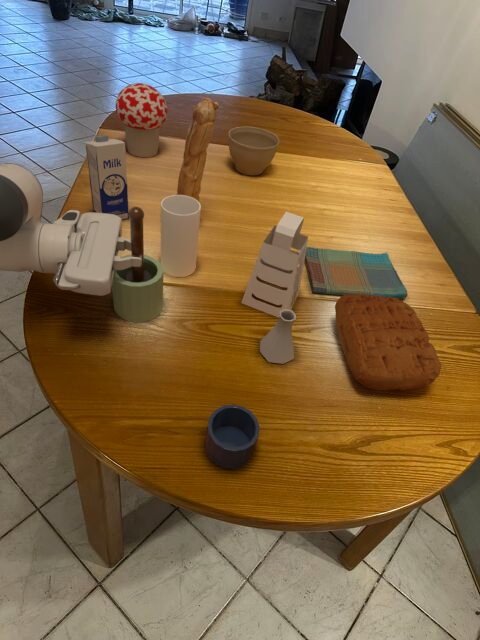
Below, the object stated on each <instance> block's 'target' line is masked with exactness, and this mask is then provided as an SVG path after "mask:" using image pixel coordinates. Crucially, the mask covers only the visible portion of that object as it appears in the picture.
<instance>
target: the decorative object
mask: <svg viewBox="0 0 480 640" xmlns="http://www.w3.org/2000/svg"><path fill="white" fill-rule="evenodd" d="M115 112H116V115H117V118H118V119H119V120H120V122H121V123H122V124H123V125H124V135H125V144H126V148H127V152H128V153H129V154H130V155H131V156H134V157H138V158H139V157H140V158H151V157H155V156H156V155H157V154H158V151H159V143H160V133H161V132H160V128H162V126H163V125H164V124H165V123H166V121H167V118H168V104H167V102H166V99H165V98H164V96H163V95H162V94H161V92H160V91H159V90H158V89H157V88H155V87H154V86H152V85H150V84H148V83H141V82H134V83H130V84H128V85H126V86H125V87H124V88H122V89H121V90H120V91H119V93H118V95H117V96H116V99H115Z"/></svg>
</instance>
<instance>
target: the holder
mask: <svg viewBox="0 0 480 640" xmlns="http://www.w3.org/2000/svg"><path fill="white" fill-rule="evenodd" d="M260 431H261V427H260V424H259V421H258V418H257V417H256V416H255V414H254V413H253V412H252V411H251V410H249V409H248V408H246V407H245V406H243V405H238V404H224V405H222V406H220V407H218V408H216V409H215V410H214V411H213V412H212V413H211V415H210V416H209V418H208V422H207V426H206V433H205V439H204V451H205V454H206V456H207V458H208V460H210V462H211V463H212V464H214V465H215V466H217V467H218V468H221V469H225V470H237V469H239V468H242V467H244V466H245V465H247V464H248V462H249V461H250V460H251V459H252V457H253V455H254V451H255V448H256V445H257V443H258V440H259V437H260Z"/></svg>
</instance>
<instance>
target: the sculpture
mask: <svg viewBox="0 0 480 640" xmlns="http://www.w3.org/2000/svg"><path fill="white" fill-rule="evenodd" d="M201 100H202V101H200V102H199V103H197V104H196V105H195V108H194V109H193V112H192V119H191V122H190V124H189V126H188V128H187V133H186V136H185V144H184V151H183V157H182V158H183V160H182V163H181V166H180V170H179V174H178V180H177V190H176V195H185V196H189V197H192V198H194V199H196V200H197V201H198V202H199V203H200V204H201V202H200V201H201V199H200V194H201V190H202V181H203V180H202V179H203V176H204V172H205V171H204V170H205V166H206V160H207V154H208V152H207V149H208V147H209V145H210V142H211V139H212V136H213V134H214V129H215V121H216V118H217V117H218V116H217V110H218V108H219V107H220V104H219V102H217V101H213V100H212V99H211V98H210V97H202V98H201Z"/></svg>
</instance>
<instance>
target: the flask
mask: <svg viewBox="0 0 480 640" xmlns="http://www.w3.org/2000/svg"><path fill="white" fill-rule="evenodd" d="M296 321H297V315H296V313H295V312H294V311H293V310H292V309H291V310H288V309H284V310H281V311H279V318H278V319H277V321H276V323H275V325H274V326H273V327H272V328H271V329H270V331H268V333H266V335H265V336H263V337H262V338H261V339H260V341H259V353H260V354H261V355H262V356H263V358H265V360H266V361H267V362H268V363H273V364H282V365H284V364H286V363H288V362H291V361H293V360H295V347H294V340H293V324H294V322H296Z"/></svg>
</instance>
